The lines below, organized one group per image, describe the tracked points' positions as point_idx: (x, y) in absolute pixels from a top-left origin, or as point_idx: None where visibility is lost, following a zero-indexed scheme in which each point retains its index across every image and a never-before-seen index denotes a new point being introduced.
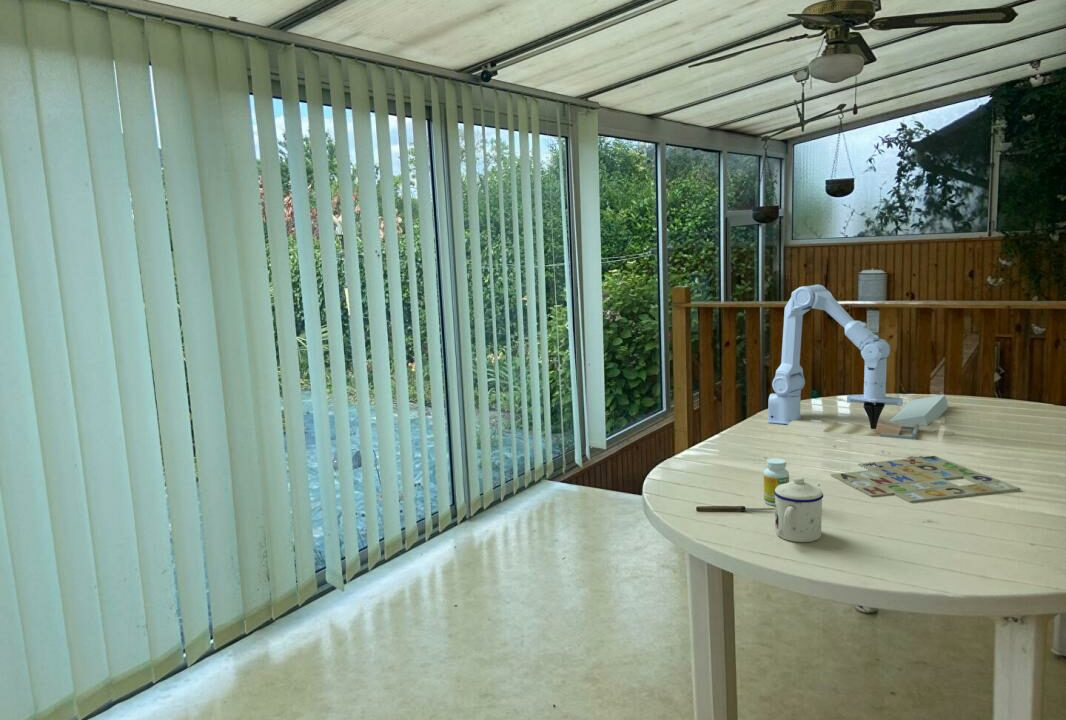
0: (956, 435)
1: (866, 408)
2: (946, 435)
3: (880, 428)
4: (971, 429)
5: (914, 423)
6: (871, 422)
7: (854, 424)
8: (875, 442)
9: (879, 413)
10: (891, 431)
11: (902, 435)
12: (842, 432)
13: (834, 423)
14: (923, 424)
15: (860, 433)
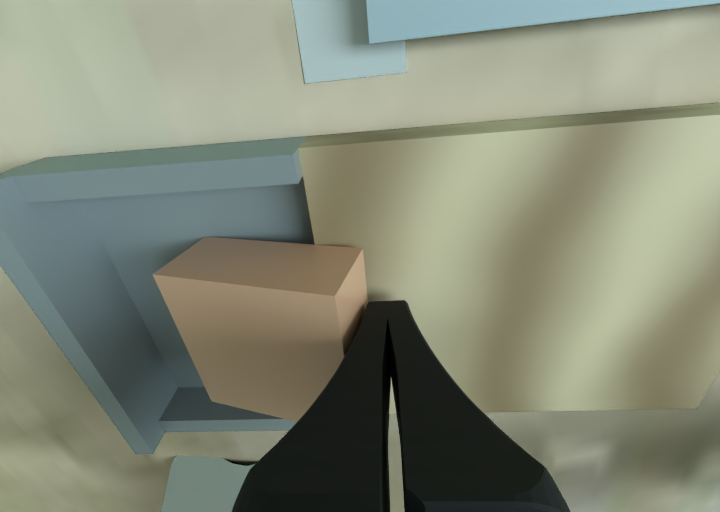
0: (34, 428)
1: (506, 469)
2: (65, 416)
3: (310, 269)
4: (57, 504)
5: (223, 490)
6: (404, 333)
7: (530, 407)
8: (328, 93)
9: (308, 419)
10: (224, 265)
11: (100, 190)
12: (659, 147)
13: (673, 391)
14: (181, 488)
15: (479, 182)
